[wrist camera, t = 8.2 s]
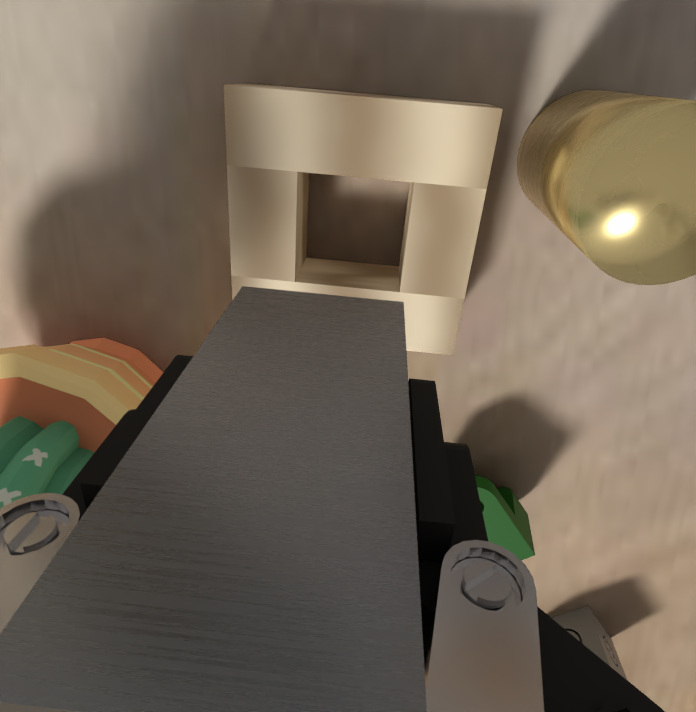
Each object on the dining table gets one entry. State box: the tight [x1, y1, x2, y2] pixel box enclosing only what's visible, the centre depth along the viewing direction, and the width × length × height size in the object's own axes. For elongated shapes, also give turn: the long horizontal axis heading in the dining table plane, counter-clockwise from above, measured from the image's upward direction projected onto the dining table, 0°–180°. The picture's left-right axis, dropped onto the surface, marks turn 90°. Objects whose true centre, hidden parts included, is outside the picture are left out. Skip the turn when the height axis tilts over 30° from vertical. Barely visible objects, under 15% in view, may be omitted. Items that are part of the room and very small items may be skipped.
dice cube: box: [551, 606, 627, 680], centre depth 42 cm, size 5×5×5 cm
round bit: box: [517, 90, 696, 285], centre depth 21 cm, size 6×6×10 cm
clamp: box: [475, 476, 535, 560], centre depth 36 cm, size 12×6×9 cm, turn 121°
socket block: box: [223, 83, 503, 355], centre depth 26 cm, size 12×12×4 cm
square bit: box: [0, 286, 427, 712], centre depth 9 cm, size 4×4×10 cm
